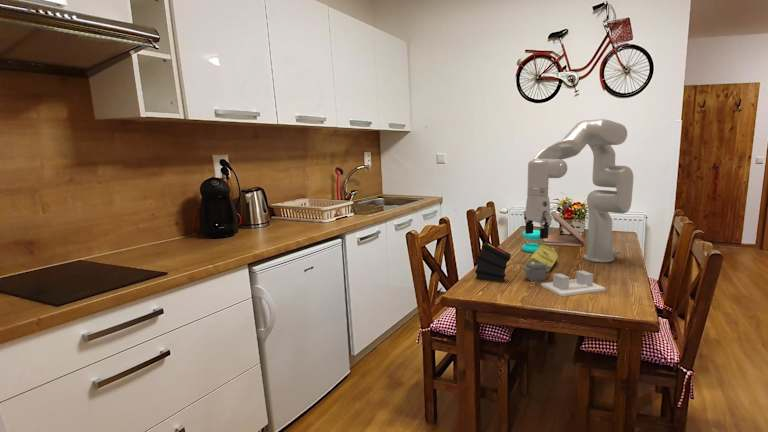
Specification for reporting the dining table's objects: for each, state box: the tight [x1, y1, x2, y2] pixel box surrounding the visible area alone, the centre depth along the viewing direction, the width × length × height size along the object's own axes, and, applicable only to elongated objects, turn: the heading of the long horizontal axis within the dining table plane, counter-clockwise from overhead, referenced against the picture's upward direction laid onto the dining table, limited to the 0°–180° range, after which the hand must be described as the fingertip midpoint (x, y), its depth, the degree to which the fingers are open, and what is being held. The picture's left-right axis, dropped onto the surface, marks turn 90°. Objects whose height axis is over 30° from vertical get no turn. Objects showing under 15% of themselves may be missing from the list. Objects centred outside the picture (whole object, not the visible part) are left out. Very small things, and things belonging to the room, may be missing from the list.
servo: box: [520, 262, 552, 282], centre depth 164 cm, size 11×4×7 cm, turn 103°
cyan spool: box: [522, 229, 542, 254], centre depth 206 cm, size 10×10×10 cm
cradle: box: [540, 270, 606, 297], centre depth 152 cm, size 18×12×5 cm, turn 103°
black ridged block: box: [474, 241, 512, 282], centre depth 165 cm, size 4×13×15 cm, turn 64°
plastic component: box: [523, 244, 559, 273], centre depth 182 cm, size 20×7×10 cm
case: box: [540, 210, 585, 247], centre depth 223 cm, size 20×21×16 cm
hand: (536, 235), depth 162 cm, fingers open, 9 cm apart
